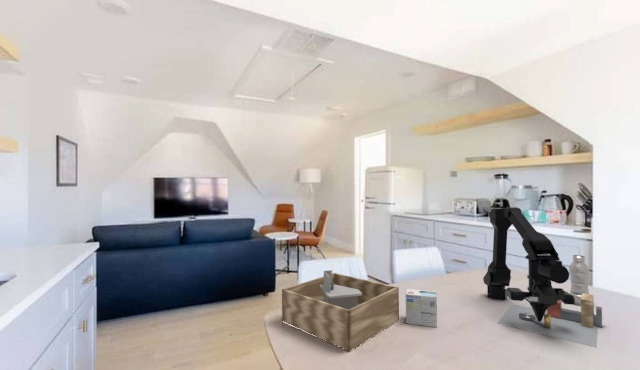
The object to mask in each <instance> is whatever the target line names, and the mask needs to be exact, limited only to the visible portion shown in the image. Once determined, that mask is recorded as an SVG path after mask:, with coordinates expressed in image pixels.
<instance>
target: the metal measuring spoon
mask: <svg viewBox="0 0 640 370" xmlns="http://www.w3.org/2000/svg"><path fill="white" fill-rule="evenodd" d="M519 318H520V319H522V320H525V321H532V322H534V323H536V324H538V325H540V326H543V327H545V328H551V315H549V314H544V323H543V322H539V321H538V320H537V319H536V317H535V316H534V315H533V314H528V313H520V314H519Z"/></svg>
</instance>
